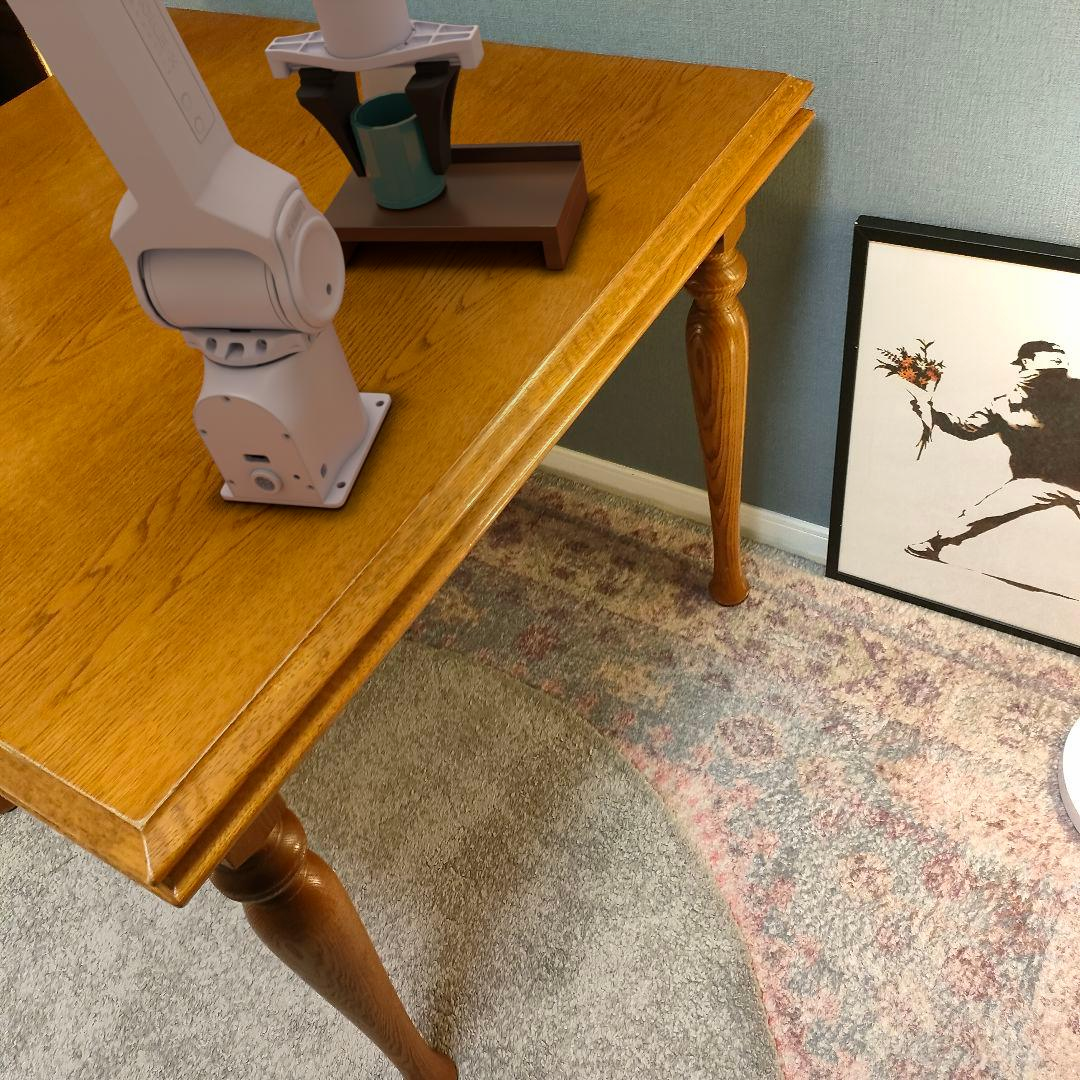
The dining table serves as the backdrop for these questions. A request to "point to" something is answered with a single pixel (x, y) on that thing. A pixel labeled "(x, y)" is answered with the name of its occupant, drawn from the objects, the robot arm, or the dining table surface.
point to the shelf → (479, 201)
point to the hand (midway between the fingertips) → (404, 168)
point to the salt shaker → (384, 80)
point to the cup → (394, 152)
